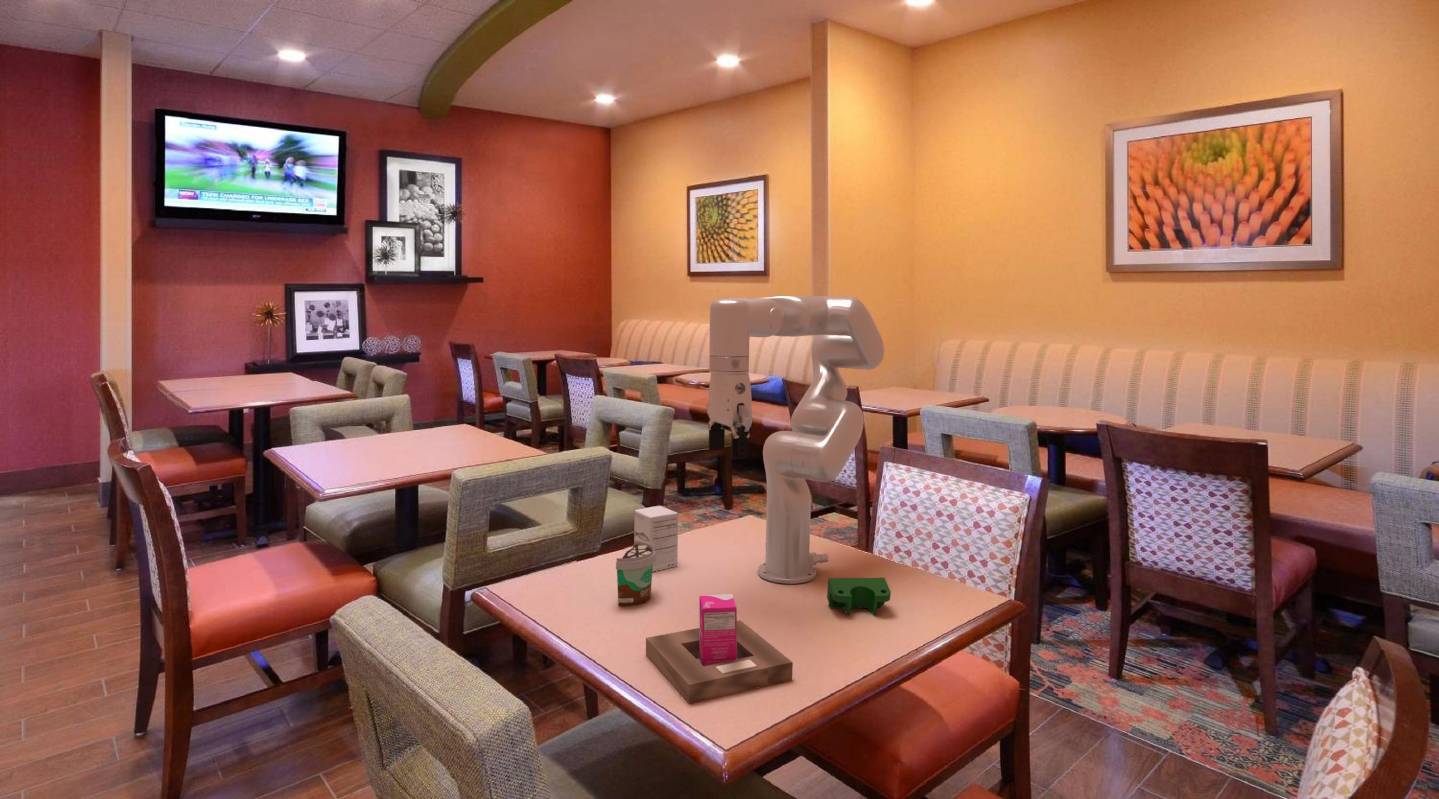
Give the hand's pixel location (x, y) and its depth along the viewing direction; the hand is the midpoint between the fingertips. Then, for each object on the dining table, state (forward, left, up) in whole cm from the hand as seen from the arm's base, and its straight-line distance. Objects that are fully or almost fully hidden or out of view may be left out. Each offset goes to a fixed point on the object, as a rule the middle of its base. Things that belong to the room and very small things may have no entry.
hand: (727, 453), depth 155 cm
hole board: (+13, +23, -30) cm, 40 cm away
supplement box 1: (+4, -27, -31) cm, 41 cm away
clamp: (-22, +13, -31) cm, 40 cm away
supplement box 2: (+13, +23, -31) cm, 40 cm away
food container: (+14, -10, -31) cm, 35 cm away
